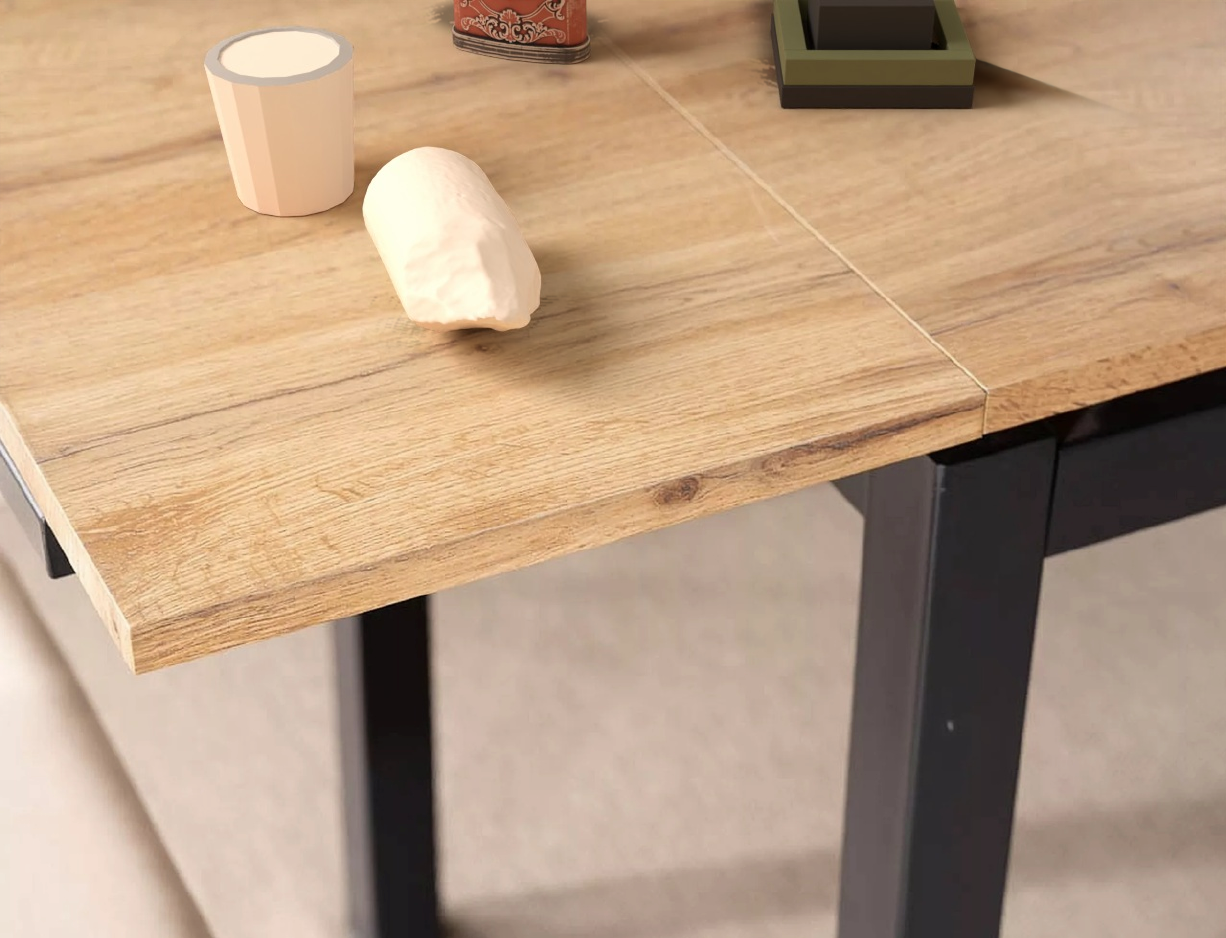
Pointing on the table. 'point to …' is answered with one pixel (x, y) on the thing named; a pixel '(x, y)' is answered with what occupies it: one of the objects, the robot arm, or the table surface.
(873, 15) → the black block
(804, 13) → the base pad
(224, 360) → the table surface
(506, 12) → the red decorated tin
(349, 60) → the peach cup
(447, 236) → the roll
